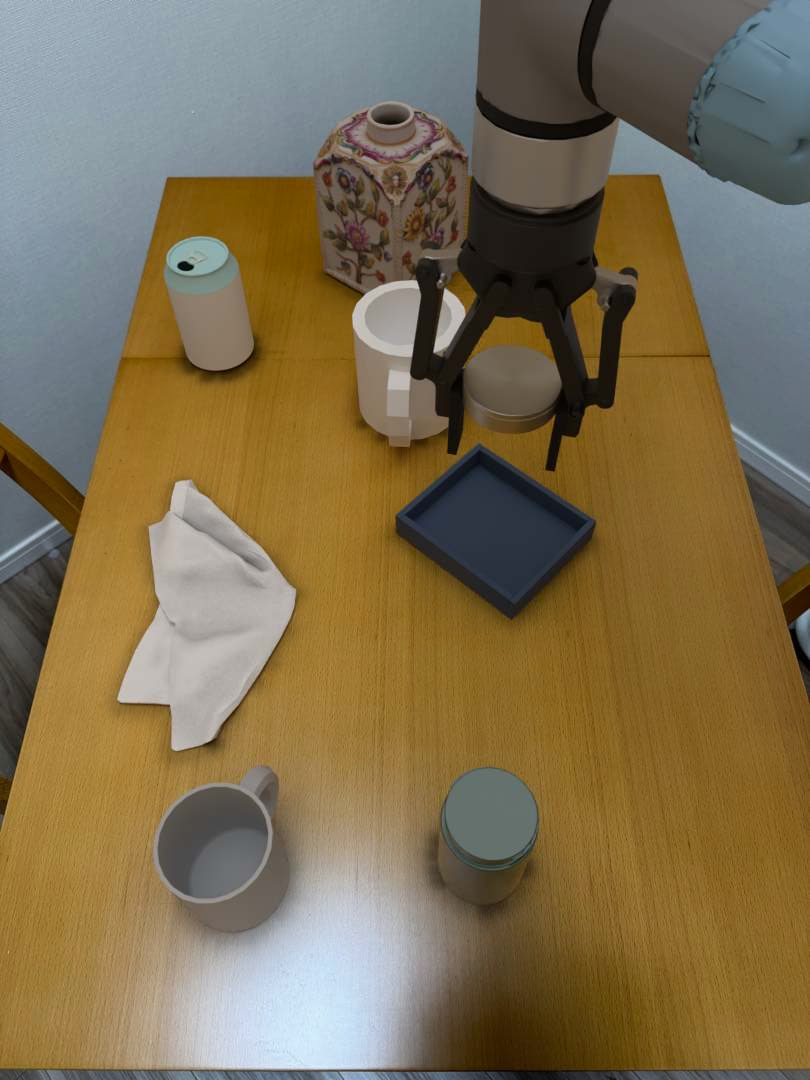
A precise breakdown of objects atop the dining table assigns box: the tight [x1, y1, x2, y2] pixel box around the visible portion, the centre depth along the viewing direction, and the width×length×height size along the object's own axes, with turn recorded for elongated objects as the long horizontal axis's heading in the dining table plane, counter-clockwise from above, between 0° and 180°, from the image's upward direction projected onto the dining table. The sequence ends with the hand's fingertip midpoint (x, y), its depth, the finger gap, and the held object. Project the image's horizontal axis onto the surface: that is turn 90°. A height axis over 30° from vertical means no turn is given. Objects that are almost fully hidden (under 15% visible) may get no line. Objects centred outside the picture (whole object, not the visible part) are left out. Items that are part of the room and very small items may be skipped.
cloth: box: [116, 479, 297, 753], centre depth 71 cm, size 26×14×2 cm, turn 0°
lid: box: [461, 344, 562, 435], centre depth 61 cm, size 7×7×2 cm
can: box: [163, 235, 255, 371], centre depth 85 cm, size 7×7×12 cm
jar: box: [437, 766, 540, 906], centre depth 55 cm, size 6×6×10 cm
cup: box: [152, 765, 290, 933], centre depth 56 cm, size 7×10×9 cm
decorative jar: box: [312, 100, 470, 296], centre depth 90 cm, size 12×12×18 cm
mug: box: [351, 280, 467, 448], centre depth 80 cm, size 14×10×11 cm
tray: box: [395, 442, 598, 620], centre depth 74 cm, size 13×11×3 cm
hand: (503, 449), depth 66 cm, fingers closed on lid, 7 cm apart
